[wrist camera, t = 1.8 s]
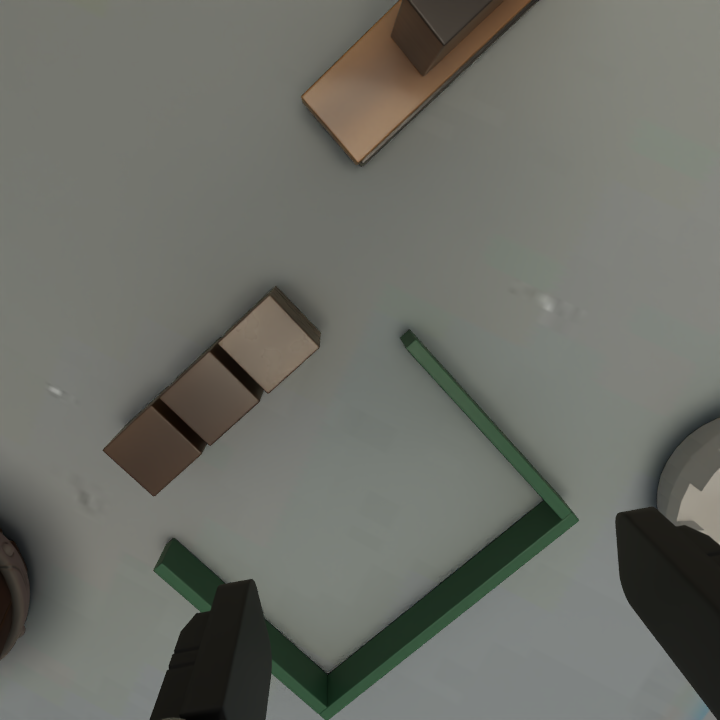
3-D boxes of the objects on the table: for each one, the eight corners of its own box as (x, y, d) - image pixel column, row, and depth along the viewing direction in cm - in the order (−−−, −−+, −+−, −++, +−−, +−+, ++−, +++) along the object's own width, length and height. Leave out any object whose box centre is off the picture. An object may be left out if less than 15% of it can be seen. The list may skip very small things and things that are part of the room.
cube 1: (124, 426, 38) (101, 450, 34) (169, 385, 38) (150, 404, 34) (171, 469, 39) (153, 497, 35) (215, 429, 39) (202, 453, 35)
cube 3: (228, 329, 37) (216, 343, 33) (276, 285, 37) (269, 294, 33) (274, 375, 38) (268, 394, 34) (321, 333, 38) (320, 347, 34)
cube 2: (176, 378, 38) (158, 397, 34) (221, 335, 37) (209, 350, 33) (222, 423, 39) (209, 446, 35) (267, 381, 38) (260, 401, 34)
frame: (165, 545, 40) (152, 570, 38) (409, 329, 38) (416, 338, 35) (327, 687, 44) (326, 721, 41) (562, 498, 41) (580, 520, 38)
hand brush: (300, 105, 34) (289, 66, 25) (528, -118, 32) (607, -249, 23) (357, 171, 35) (367, 157, 26) (582, -41, 33) (678, -138, 24)
